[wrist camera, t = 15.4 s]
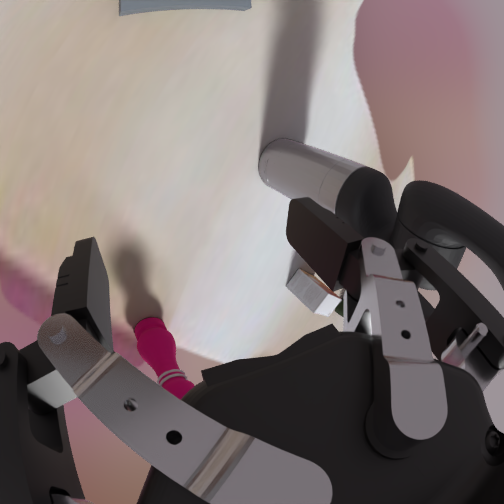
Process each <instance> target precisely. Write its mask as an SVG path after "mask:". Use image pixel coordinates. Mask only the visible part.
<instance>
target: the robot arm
mask: <svg viewBox="0 0 504 504" xmlns="http://www.w3.org/2000/svg"><path fill="white" fill-rule="evenodd" d="M259 174H260V177H261V179H262V181H263V182H264V183H265V184H266V185H267V186H269V187H271V188H273V189H274V190H276V191H278V192H280V193H281V194H283V195H285V196H287V197H288V198H290V199H292V200H291V201H290V204H289V211H288V219H287V227H286V236H287V239H288V242H289V243H290V245H291V246H292V247H293V248H294V249H295V250H296V251H297V252H298V253H299V254H300V256H301V257H302V258H303V259H304V260H305V261H306V262H307V263H308V264H309V266H310V267H311V268H312V269H313V270H314V271H315V272H316V273H317V274H318V276H319V277H320V278H321V279H322V280H323V281H324V282H325V283H326V285H327V286H328V287H329V288H330V289H331V290H332V291H333V292H334V291H336V290H339V289H342V288H345V293H344V297H343V298H344V328H343V332H338V330H337V329H336V328H335V327H334V325H333V324H330V325H328V326H326V327H323V328H321V329H319V330H316V331H314V332H311V333H309V334H306V335H304V336H303V337H302V338H300V339H299V340H298V341H296V342H295V343H293V344H292V345H291V346H289V347H288V348H287V349H285V350H284V351H282V352H281V353H279V354H277V355H274V356H267V357H258V358H249V359H239V360H235V361H232V362H228V363H225V364H222V365H219V366H215V367H212V368H209V369H205V370H202V371H201V372H202V377H203V381H202V382H201V383H199V384H197V385H196V386H194V387H193V388H192V389H190V390H189V391H188V392H187V393H186V394H185V395H184V396H183V397H182V399H181V400H180V399H179V398H177V397H176V396H174V395H173V394H171V393H170V392H168V391H167V390H165V389H164V388H163V387H161V386H160V385H158V384H157V383H156V382H154V381H152V380H151V379H150V378H149V377H147V376H146V375H145V374H143V373H142V372H141V371H139V370H138V369H137V368H136V367H134V366H133V365H132V364H131V363H129V362H128V361H127V360H126V359H124V358H123V357H122V356H121V355H119V354H118V353H116V352H114V350H113V341H112V330H111V317H110V298H109V280H108V275H107V272H106V268H105V266H104V263H103V260H102V257H101V254H100V251H99V248H98V245H97V242H96V239H95V238H94V237H91V238H87V239H83V240H79V241H76V243H75V247H74V252H73V256H70V257H66V259H65V260H64V262H63V263H62V265H61V266H60V268H59V273H58V279H57V283H56V288H55V294H54V300H53V307H52V314H51V317H49V318H48V319H47V320H46V321H45V322H44V323H43V324H42V325H41V327H40V329H39V331H38V336H37V341H35V342H34V343H32V344H30V345H28V346H26V347H24V348H23V349H21V350H18V349H17V348H16V347H15V345H14V344H12V343H10V342H3V343H1V344H0V504H94V503H92V502H90V501H88V500H85V497H84V494H83V491H82V488H81V485H80V481H79V478H78V474H77V471H76V467H75V463H74V460H73V455H72V451H71V447H70V442H69V437H68V432H67V426H66V420H65V414H64V406H63V404H65V403H67V402H69V401H71V400H73V399H75V398H77V397H78V398H79V399H80V400H81V401H82V402H83V404H84V405H85V406H86V407H87V408H88V409H89V410H90V411H91V412H92V413H93V414H94V415H95V416H96V417H97V418H98V419H99V420H100V421H101V422H102V423H103V424H104V425H105V426H106V427H107V428H108V429H109V430H110V431H112V432H113V433H114V434H115V435H116V436H117V437H118V438H119V439H120V440H122V441H123V442H124V443H125V444H126V445H128V447H130V448H131V449H132V450H133V451H135V452H136V453H137V454H138V455H139V456H141V457H142V458H143V459H145V460H146V461H147V462H149V463H150V464H151V468H150V470H149V473H148V476H147V478H146V481H145V483H144V486H143V489H142V491H141V494H140V496H139V499H138V502H137V504H504V434H503V433H501V432H500V431H499V430H497V428H496V427H495V426H494V424H493V422H492V420H491V417H490V415H489V412H488V409H487V406H486V403H485V400H484V396H483V391H484V389H485V388H486V387H487V386H488V384H489V383H490V382H491V381H492V380H493V379H494V378H495V377H496V376H497V375H498V374H499V373H500V372H501V371H502V370H503V369H504V318H503V317H502V315H501V314H500V313H499V312H498V311H497V310H496V309H495V308H494V306H493V305H491V303H490V302H489V301H488V300H487V299H486V298H485V297H484V296H483V295H482V294H481V293H480V292H479V291H478V290H477V289H476V288H475V287H474V286H473V285H472V284H471V283H470V282H469V281H468V280H467V279H466V278H465V277H464V276H463V275H462V274H461V273H460V272H459V271H458V270H457V268H458V266H459V263H460V261H461V259H462V257H463V254H464V252H465V249H466V247H467V248H468V249H469V250H471V251H472V252H473V253H474V254H476V255H477V256H478V257H479V258H480V259H481V260H482V261H483V262H484V263H485V264H486V265H487V266H488V267H489V268H490V269H491V270H492V272H493V273H494V274H495V276H496V277H497V279H498V280H499V282H500V284H501V285H502V288H503V290H504V226H503V225H502V224H501V223H499V222H498V221H497V220H495V219H494V218H493V217H491V216H490V215H489V214H487V213H486V212H484V211H483V210H482V209H480V208H479V207H477V206H476V205H474V204H473V203H471V202H470V201H468V200H467V199H465V198H463V197H462V196H460V195H459V194H457V193H455V192H453V191H451V190H449V189H447V188H445V187H443V186H441V185H438V184H435V183H431V182H428V181H413V182H410V183H409V184H407V185H406V187H405V188H404V191H403V193H402V196H401V200H400V204H399V208H398V213H397V211H396V207H395V204H394V199H393V192H392V187H391V184H390V182H389V180H388V178H387V177H386V176H385V175H384V174H383V173H381V172H379V171H377V170H375V169H372V168H370V167H367V166H365V165H362V164H360V163H357V162H354V161H352V160H349V159H346V158H344V157H341V156H338V155H335V154H332V153H330V152H327V151H324V150H321V149H318V148H315V147H312V146H309V145H306V144H303V143H300V142H296V141H293V140H290V139H284V138H282V139H277V140H275V141H273V142H272V143H270V144H269V145H268V146H267V147H266V148H265V150H264V151H263V153H262V155H261V157H260V161H259ZM418 288H423V289H426V290H437V291H438V293H439V295H440V301H439V303H438V305H437V306H436V308H435V309H434V308H433V307H432V305H431V304H430V303H429V302H428V301H427V300H426V299H425V298H424V297H423V296H422V295H421V294H420V293H419V292H418ZM431 351H432V352H433V354H434V355H435V356H436V357H437V359H438V360H436V359H433V357H432V352H431Z"/></svg>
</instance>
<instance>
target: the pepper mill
mask: <svg viewBox="0 0 504 504" xmlns="http://www.w3.org/2000/svg"><path fill="white" fill-rule="evenodd" d="M134 332H135V336H136V338H137V341H138V342H137V349H138V351H139V354H140V355H141V357H142V358H143V359H144V361H146V362H147V363H148V364H149V365H150V366H151V367H152V368H153V369H154V371H155V372H156V374H157V376H158V380H157V383H158V385H160V386H161V387H163V388H164V389H165V390H167V391H168V392H170V393H171V394H173V395H174V396H176V397H177V398H179V399H180V400H181V399H182V397H183V396H184V395H185V394H186V393H187V392H188V391H189V390H190V389H192V388H193V387H194V384H193V383H192V382H190V381H188V380H187V377H186V376H185V373H184V372H183V371H182V370H180V369H179V367H178V365H177V362H176V344H175V340H174V338H173V336H172V334H171V333H170V332H169V331H167V329H166V327H165V324H164V322H163V321H162V320H160V319H158V318H155V317H149V318H146V319H143V320H141V321H140V322H139V323H138V324H137V325H136V327H135V331H134Z"/></svg>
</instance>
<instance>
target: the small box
mask: <svg viewBox="0 0 504 504" xmlns="http://www.w3.org/2000/svg"><path fill="white" fill-rule="evenodd" d="M286 287H287V288H288V289H289V290H290V291H291V292H292V293H293V294H294V295H295V296H296V297H297V298H298V299H299V300H300V301H301V302H302V303H303V304H304V305H306V306H307V307H308V308H309V309H310V310H311V311H312V312H313V313H316V314H320V315H324V316H327V317H329V315H330V314H331V313H332V312H333V310H334V309H335V308H336V306H337V305H338V304H339V302H340V301H341V300H342V299H341V298H340V297H339V296H337V295H336V294H335V293H334V292H333V291H331V290H330V289H329V288H328V287H327V286H326V285H324V284H323V283H322V282H321V281H320V280H318V279H317V278H316V277H315V276H313V275H311V274H309V273H307V272H305V271H303V270H301V269H298V270H297V272H296V273H295V275H294V276H293V277H292V279H291V280H290V281H289V283H288V284H287V286H286Z"/></svg>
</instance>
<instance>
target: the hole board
mask: <svg viewBox="0 0 504 504" xmlns="http://www.w3.org/2000/svg"><path fill="white" fill-rule="evenodd" d="M250 8H251V0H119V16H123V15H129V14H136V13H143V12H152V11H162V10H176V9H227V10H241V11H245V10H247V9H250Z"/></svg>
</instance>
